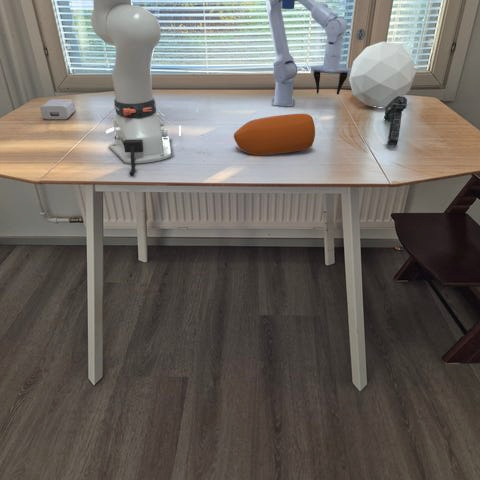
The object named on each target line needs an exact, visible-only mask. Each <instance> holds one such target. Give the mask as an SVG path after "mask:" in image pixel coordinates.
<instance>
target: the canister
mask: <svg viewBox="0 0 480 480" xmlns="http://www.w3.org/2000/svg"><path fill="white" fill-rule="evenodd" d="M295 3H296V1H294V0H281V10H294V9H295Z"/></svg>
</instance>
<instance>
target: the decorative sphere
mask: <svg viewBox="0 0 480 480" xmlns="http://www.w3.org/2000/svg"><path fill="white" fill-rule="evenodd" d="M416 73H417V72H416V68H415V64H414V60H413V57H412V55H411V54H410V53H409V52H408V51H407V50H406V49H405V48H404V47H403V45H402V44H400V43H395V42H388V41H380V42H377V43H374V44H372V45H368V46H366V47H365V48H364V49H363V50H362V51H361V53H359V55H358V56H357V57H356V58H355V59H354V60H353V61H352V65H351V73H350V75H349V77H348V81H349V86H350V89H351V92H352V95H353V96H354V97H355V98H356V99H357V100H359V101H360V102H361V103H362V104H363V103H364V104H363V105H365V106H368V107H372V106H376V107H374V108H376V109H379V110H382V109H383V108H378V107H384V108H386V106H387V105H388V104H389V103H390V102H391V101H392V100H393V99H394V98H396V97H397V96H403V97H405V96H406V95H407V94H408V93H409V92H410V90H411V89H412V86H413V82H414V79H415V77H416Z"/></svg>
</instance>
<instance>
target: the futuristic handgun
mask: <svg viewBox="0 0 480 480" xmlns="http://www.w3.org/2000/svg"><path fill="white" fill-rule="evenodd" d="M407 105H408V99H407V97H406V96H397V97H396V98H394V99H393V100H392V101H391V102H390V103H389V104H388V105H387V106H386V107H385V110H384V115H383V121H385V122H389V124H390V125H389V132H388V137H387V141H386V142H387V143H386V146H395V147H396V146H398V142H399V137H400V129H401V124H402V116H403V112H404V110H406V109H407ZM384 119H385V120H384ZM386 120H388V121H386Z"/></svg>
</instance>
